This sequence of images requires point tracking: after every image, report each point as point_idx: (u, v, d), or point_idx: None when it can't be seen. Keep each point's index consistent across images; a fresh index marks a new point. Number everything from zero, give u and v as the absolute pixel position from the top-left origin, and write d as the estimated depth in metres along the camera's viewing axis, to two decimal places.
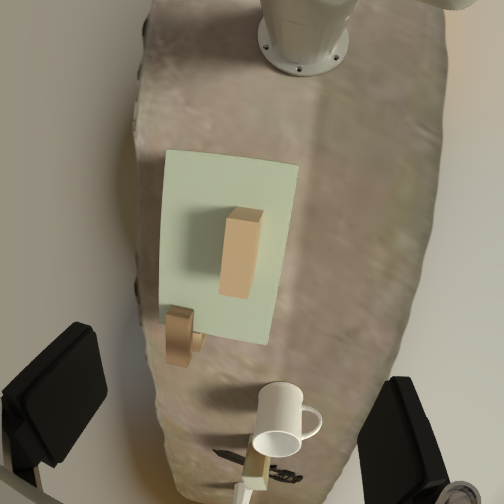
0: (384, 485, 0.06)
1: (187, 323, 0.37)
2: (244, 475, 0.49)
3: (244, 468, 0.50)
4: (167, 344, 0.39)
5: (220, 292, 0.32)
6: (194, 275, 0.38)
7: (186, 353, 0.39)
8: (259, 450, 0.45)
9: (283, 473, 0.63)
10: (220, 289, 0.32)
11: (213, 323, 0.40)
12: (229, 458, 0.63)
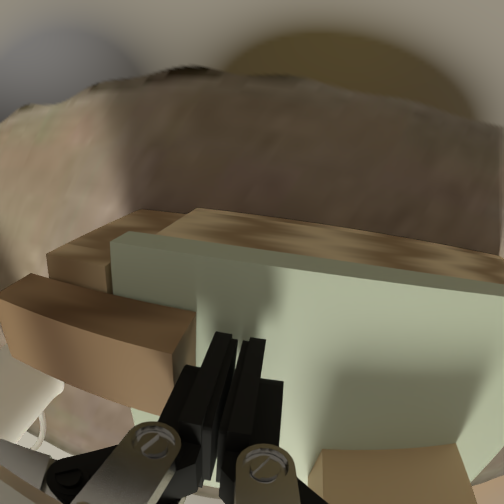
0: None
1: (158, 412, 0.09)
2: None
3: None
4: (48, 323, 0.09)
5: None
6: (317, 386, 0.11)
7: (50, 373, 0.10)
8: None
9: None
10: None
11: None
12: None
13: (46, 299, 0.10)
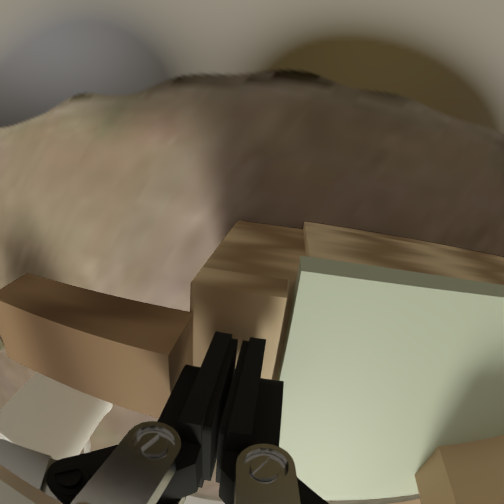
0: None
1: (155, 414, 0.09)
2: None
3: None
4: (44, 323, 0.09)
5: None
6: (457, 391, 0.11)
7: (47, 374, 0.10)
8: None
9: None
10: None
11: (309, 433, 0.12)
12: None
13: (42, 299, 0.09)
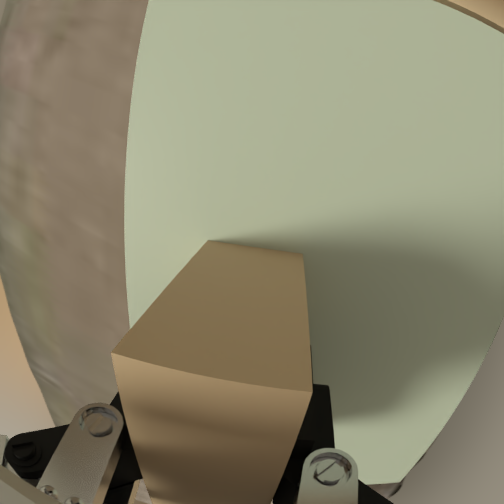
0: None
1: None
2: None
3: None
4: None
5: (295, 402, 0.04)
6: (434, 235, 0.09)
7: None
8: None
9: None
10: (293, 416, 0.04)
11: (373, 25, 0.07)
12: None
13: None
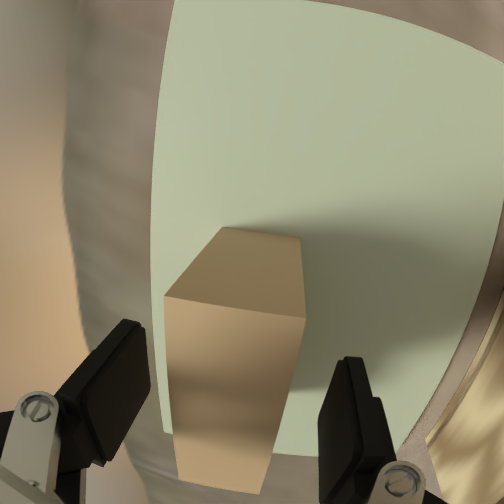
0: (332, 462, 0.07)
1: None
2: None
3: None
4: None
5: (294, 326, 0.06)
6: (409, 222, 0.11)
7: None
8: None
9: None
10: (293, 340, 0.06)
11: (357, 48, 0.09)
12: None
13: None
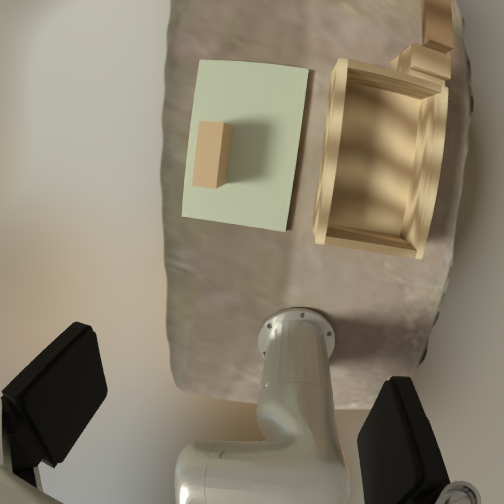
0: (384, 485, 0.06)
1: (431, 35, 0.23)
2: None
3: None
4: (450, 15, 0.21)
5: (221, 124, 0.34)
6: (265, 120, 0.39)
7: (429, 2, 0.21)
8: None
9: None
10: (221, 127, 0.34)
11: (250, 74, 0.37)
12: None
13: None
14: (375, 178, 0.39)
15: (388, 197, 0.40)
